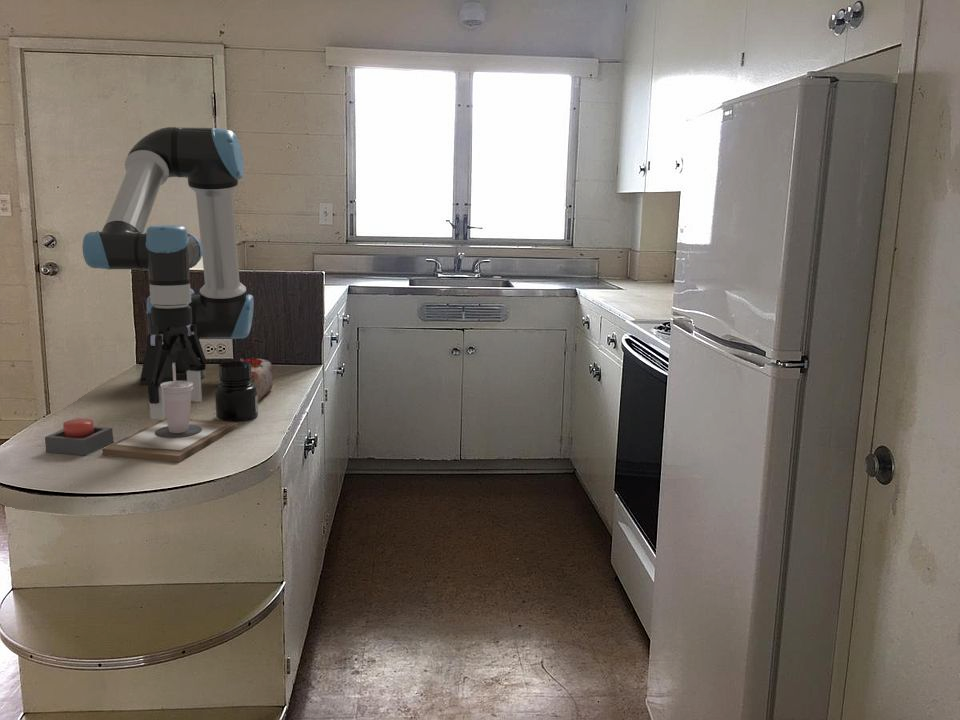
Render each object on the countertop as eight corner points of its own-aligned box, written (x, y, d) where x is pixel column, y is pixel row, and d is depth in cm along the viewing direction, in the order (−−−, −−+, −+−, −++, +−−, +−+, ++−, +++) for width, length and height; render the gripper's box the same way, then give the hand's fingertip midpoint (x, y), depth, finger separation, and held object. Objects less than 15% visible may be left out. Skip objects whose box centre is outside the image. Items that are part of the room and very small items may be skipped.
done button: (76, 429, 157) (75, 417, 157) (100, 431, 157) (99, 419, 156) (58, 437, 152) (57, 425, 152) (82, 439, 152) (81, 427, 151)
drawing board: (168, 422, 172) (167, 415, 172) (236, 428, 169) (236, 421, 169) (102, 454, 151) (102, 447, 151) (179, 462, 148) (179, 454, 148)
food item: (260, 405, 188) (259, 364, 186) (226, 404, 188) (224, 363, 186) (275, 390, 201) (274, 352, 199) (243, 390, 201) (242, 351, 199)
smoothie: (184, 423, 166) (180, 358, 163) (201, 430, 162) (198, 363, 159) (155, 430, 161) (151, 363, 158) (173, 437, 158) (169, 368, 154)
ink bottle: (267, 416, 179) (265, 364, 176) (236, 425, 171) (233, 371, 169) (238, 408, 184) (236, 358, 181) (206, 417, 177) (204, 364, 174)
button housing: (75, 438, 160) (74, 424, 159) (113, 442, 158) (112, 427, 158) (46, 451, 152) (44, 436, 151) (85, 455, 150) (84, 440, 150)
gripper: (187, 296, 169) (193, 393, 173) (114, 313, 145) (122, 425, 149) (220, 297, 167) (225, 395, 172) (151, 315, 144) (158, 428, 148)
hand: (177, 409), depth 161 cm, fingers open, 13 cm apart
